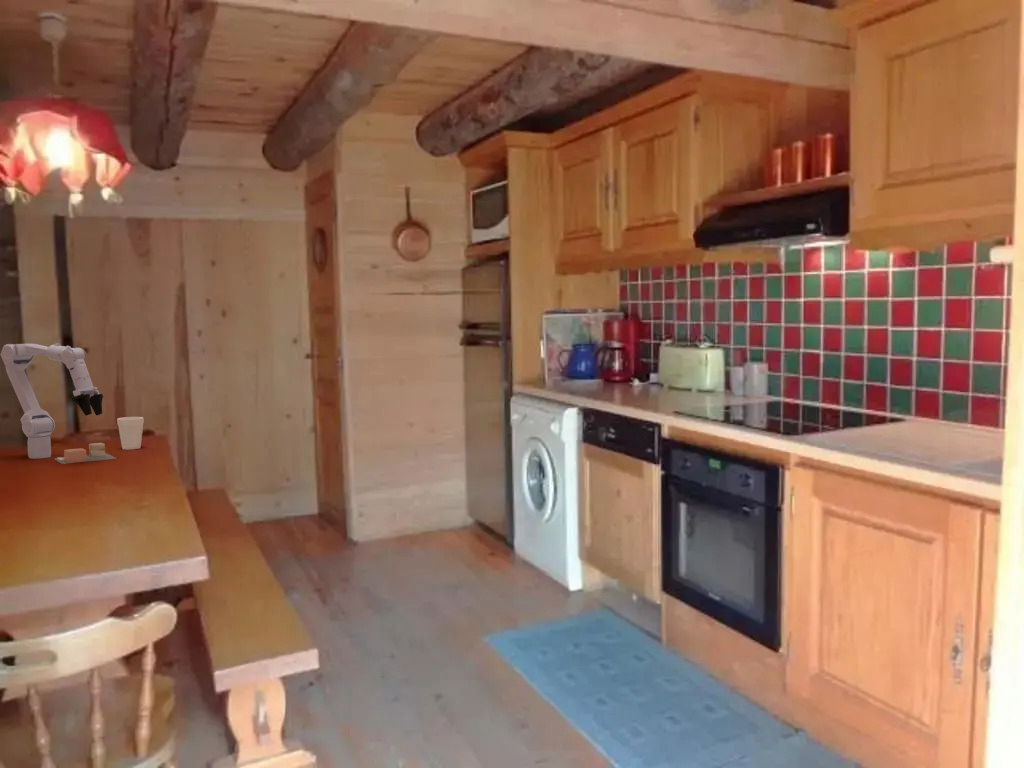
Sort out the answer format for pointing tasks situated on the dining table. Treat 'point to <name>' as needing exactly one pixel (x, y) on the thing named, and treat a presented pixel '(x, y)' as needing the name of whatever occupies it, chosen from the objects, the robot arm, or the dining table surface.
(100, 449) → the cream cube
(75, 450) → the terracotta block
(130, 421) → the foam cup
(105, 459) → the build board
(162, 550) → the dining table surface
